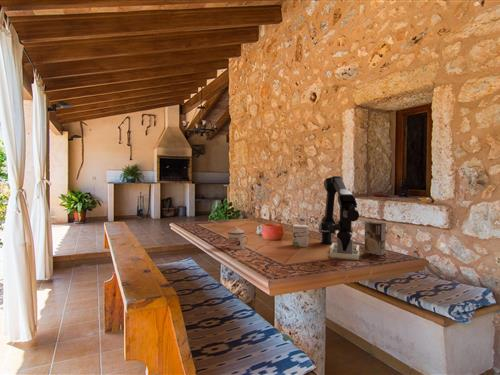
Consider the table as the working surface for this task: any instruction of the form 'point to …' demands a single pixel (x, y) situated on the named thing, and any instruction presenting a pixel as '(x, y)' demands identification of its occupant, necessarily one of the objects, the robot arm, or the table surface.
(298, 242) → the ink box
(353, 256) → the tray
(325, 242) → the robot arm
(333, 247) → the bay
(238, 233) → the teacup with lid
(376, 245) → the coffee box
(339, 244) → the grey block
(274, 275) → the table surface
